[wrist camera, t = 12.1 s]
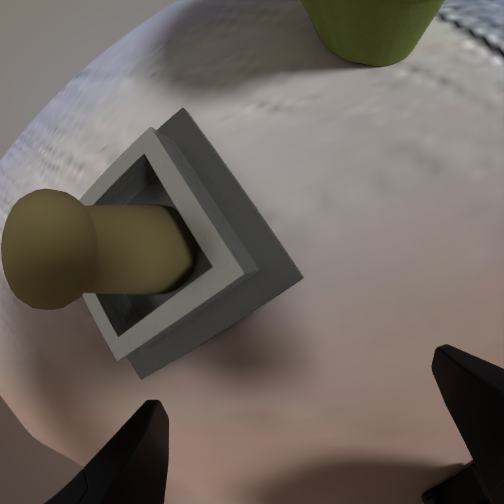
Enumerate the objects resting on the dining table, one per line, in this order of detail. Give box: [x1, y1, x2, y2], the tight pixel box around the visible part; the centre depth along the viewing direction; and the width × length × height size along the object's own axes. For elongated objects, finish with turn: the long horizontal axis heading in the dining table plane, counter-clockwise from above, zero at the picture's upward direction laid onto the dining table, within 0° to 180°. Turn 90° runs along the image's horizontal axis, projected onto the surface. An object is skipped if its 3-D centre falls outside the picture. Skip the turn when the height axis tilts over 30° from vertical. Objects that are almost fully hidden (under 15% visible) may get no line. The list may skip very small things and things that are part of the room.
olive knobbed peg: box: [1, 189, 197, 310], centre depth 15 cm, size 6×6×11 cm
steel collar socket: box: [79, 108, 304, 379], centre depth 19 cm, size 14×14×4 cm
